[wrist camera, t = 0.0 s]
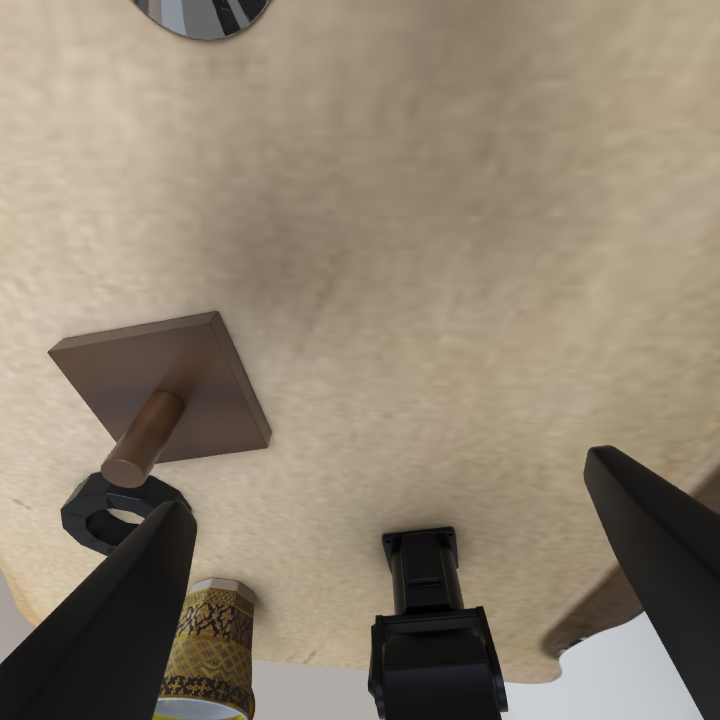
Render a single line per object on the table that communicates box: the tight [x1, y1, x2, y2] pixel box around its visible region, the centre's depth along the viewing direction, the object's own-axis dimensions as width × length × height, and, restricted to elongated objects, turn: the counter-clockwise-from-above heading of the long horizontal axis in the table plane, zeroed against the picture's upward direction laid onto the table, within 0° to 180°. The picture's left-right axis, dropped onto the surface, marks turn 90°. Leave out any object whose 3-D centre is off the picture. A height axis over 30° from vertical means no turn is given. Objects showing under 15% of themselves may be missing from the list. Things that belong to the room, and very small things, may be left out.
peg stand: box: [48, 311, 272, 488], centre depth 23 cm, size 10×10×7 cm
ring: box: [61, 473, 191, 556], centre depth 32 cm, size 9×9×2 cm
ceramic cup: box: [152, 578, 255, 720], centre depth 38 cm, size 13×10×10 cm
